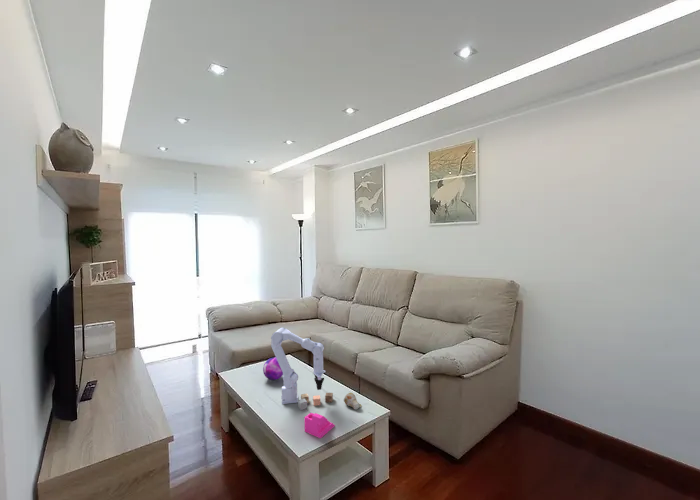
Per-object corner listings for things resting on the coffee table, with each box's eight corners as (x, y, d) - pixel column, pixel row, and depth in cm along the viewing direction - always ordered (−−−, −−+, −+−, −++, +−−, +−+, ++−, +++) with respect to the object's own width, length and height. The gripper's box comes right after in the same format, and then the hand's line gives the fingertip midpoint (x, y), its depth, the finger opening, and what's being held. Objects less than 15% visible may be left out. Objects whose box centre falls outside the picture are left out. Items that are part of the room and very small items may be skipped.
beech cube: (302, 404, 191) (302, 397, 191) (300, 400, 195) (300, 394, 195) (308, 402, 192) (308, 396, 192) (307, 399, 196) (307, 393, 196)
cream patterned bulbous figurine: (354, 413, 181) (346, 396, 183) (347, 413, 189) (340, 396, 191) (364, 406, 185) (357, 389, 187) (357, 406, 193) (350, 390, 195)
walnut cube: (325, 402, 193) (325, 395, 193) (326, 398, 197) (326, 392, 197) (331, 402, 192) (331, 396, 192) (332, 399, 196) (332, 392, 196)
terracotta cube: (313, 405, 189) (313, 399, 189) (313, 402, 193) (313, 395, 193) (320, 405, 190) (320, 398, 190) (320, 401, 194) (319, 395, 194)
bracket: (320, 438, 159) (320, 418, 158) (304, 431, 165) (304, 412, 164) (334, 426, 169) (334, 407, 168) (319, 420, 175) (318, 401, 174)
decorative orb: (289, 377, 227) (289, 356, 226) (274, 386, 214) (273, 364, 213) (274, 372, 235) (274, 352, 234) (258, 380, 222) (258, 359, 221)
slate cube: (300, 410, 185) (300, 403, 185) (298, 406, 188) (298, 400, 188) (307, 408, 187) (306, 401, 187) (304, 404, 190) (304, 398, 190)
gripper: (326, 368, 185) (326, 391, 186) (323, 358, 199) (324, 380, 200) (314, 369, 184) (314, 392, 185) (312, 359, 198) (312, 381, 199)
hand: (318, 386), depth 192 cm, fingers open, 7 cm apart
